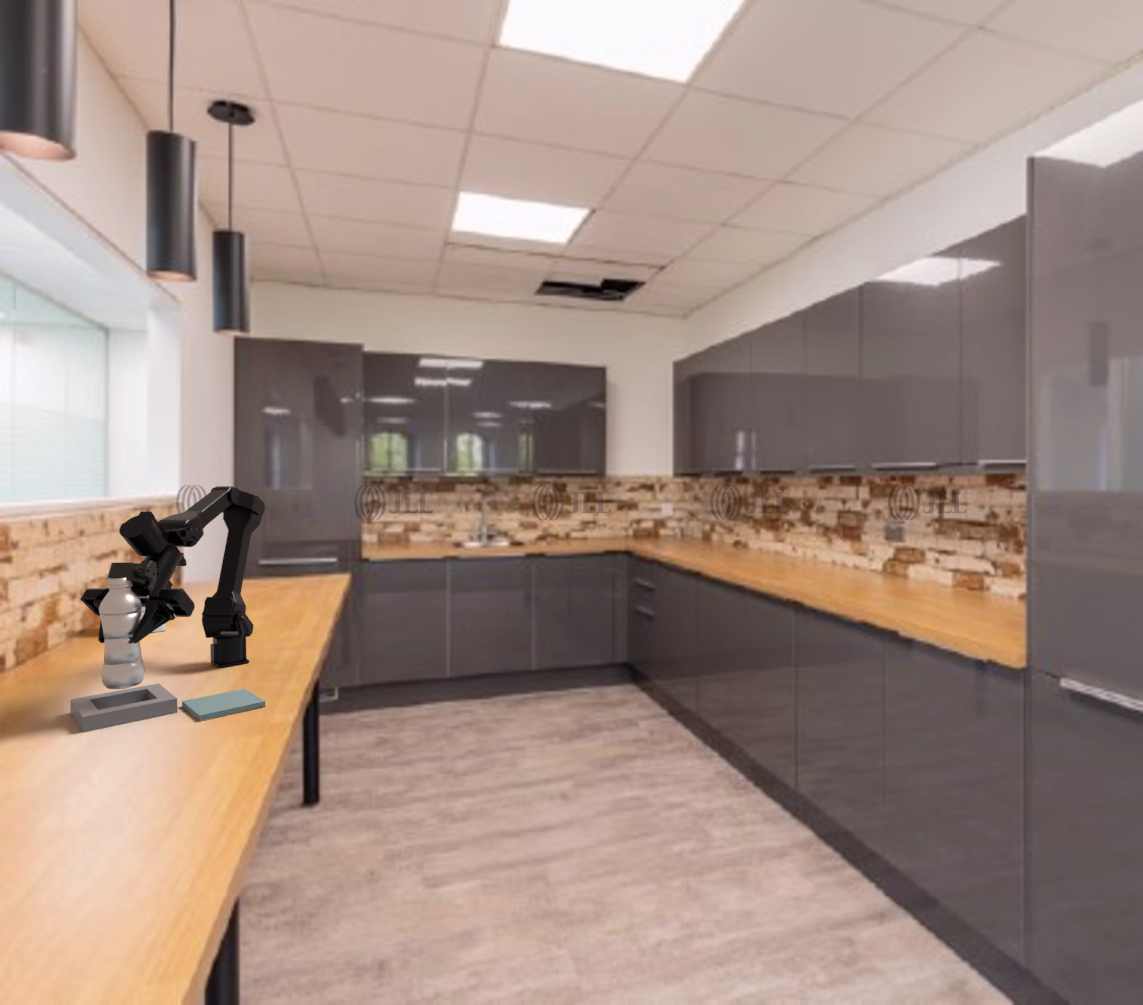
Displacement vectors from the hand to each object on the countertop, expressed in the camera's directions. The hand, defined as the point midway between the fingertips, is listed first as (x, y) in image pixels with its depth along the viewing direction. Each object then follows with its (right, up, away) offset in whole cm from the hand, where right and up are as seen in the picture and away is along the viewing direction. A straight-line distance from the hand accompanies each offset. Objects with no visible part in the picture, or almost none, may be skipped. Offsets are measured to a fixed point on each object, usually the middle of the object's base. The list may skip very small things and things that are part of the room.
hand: (117, 642), depth 123 cm
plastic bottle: (0, -9, +2) cm, 9 cm away
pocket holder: (0, -13, +2) cm, 13 cm away
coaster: (+16, -13, +5) cm, 21 cm away
